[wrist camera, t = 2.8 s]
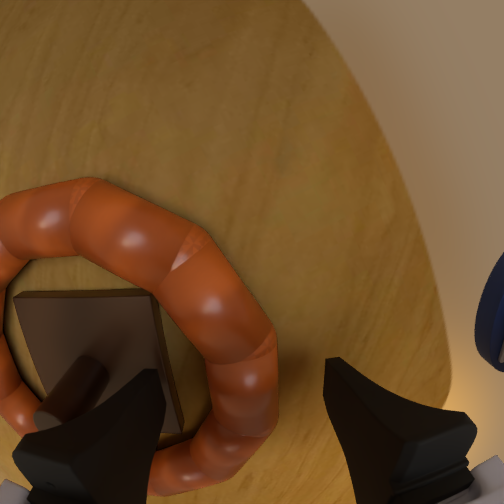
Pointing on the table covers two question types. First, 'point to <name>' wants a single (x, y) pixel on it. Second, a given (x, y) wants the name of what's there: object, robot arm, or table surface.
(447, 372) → the table surface
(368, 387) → the robot arm
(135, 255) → the ring
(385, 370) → the table surface
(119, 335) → the square peg base
